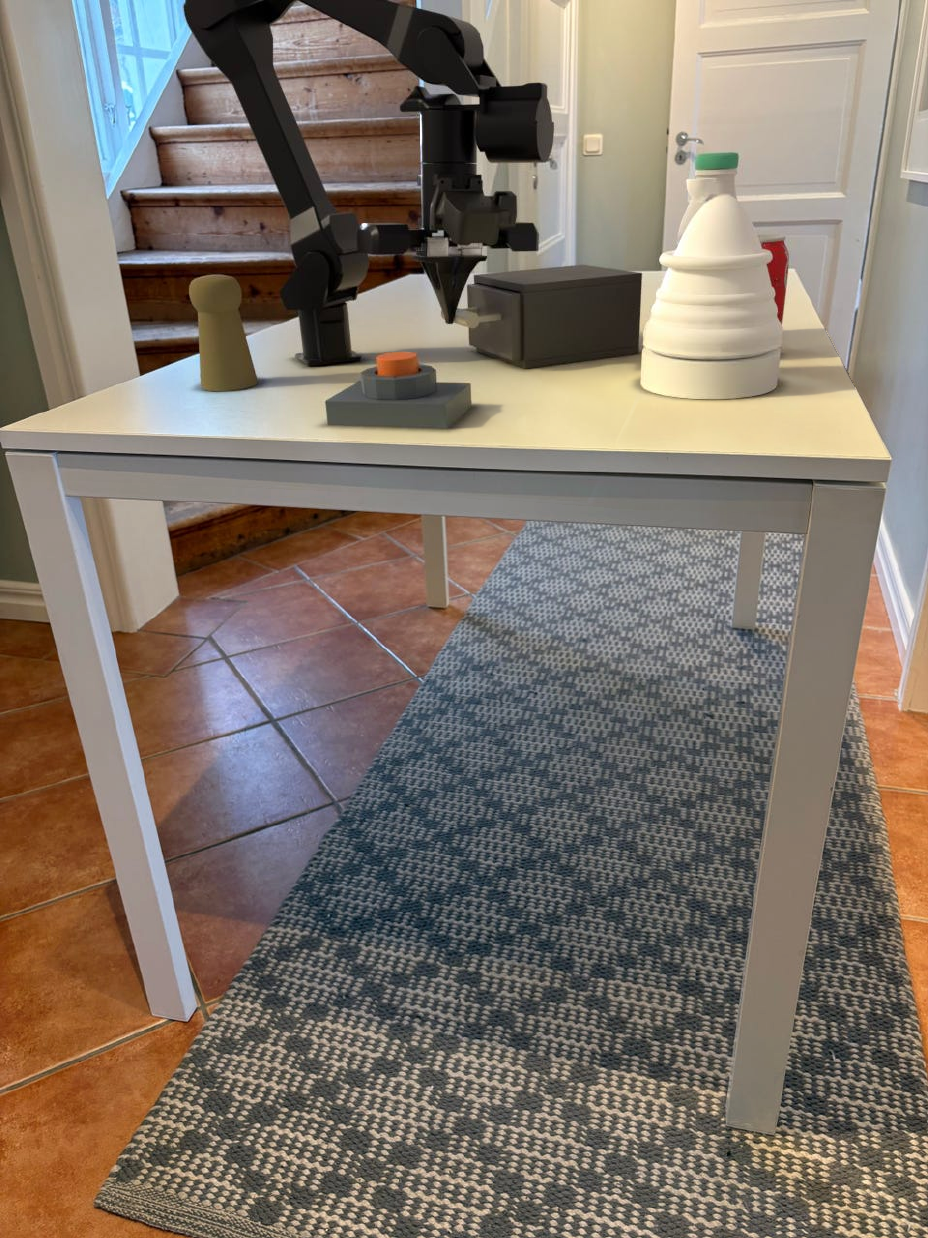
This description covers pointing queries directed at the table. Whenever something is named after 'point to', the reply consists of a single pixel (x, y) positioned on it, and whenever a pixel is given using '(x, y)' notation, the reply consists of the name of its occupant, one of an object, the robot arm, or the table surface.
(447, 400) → the control block
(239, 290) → the cork
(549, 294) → the cabinet
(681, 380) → the honey pot
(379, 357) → the button
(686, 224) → the milk bottle
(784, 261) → the soda can
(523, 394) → the table surface
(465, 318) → the drawer
